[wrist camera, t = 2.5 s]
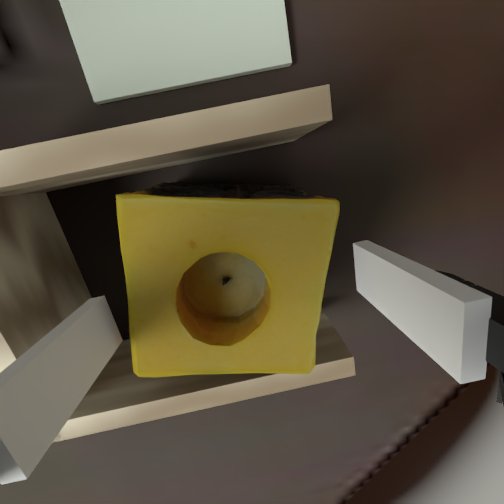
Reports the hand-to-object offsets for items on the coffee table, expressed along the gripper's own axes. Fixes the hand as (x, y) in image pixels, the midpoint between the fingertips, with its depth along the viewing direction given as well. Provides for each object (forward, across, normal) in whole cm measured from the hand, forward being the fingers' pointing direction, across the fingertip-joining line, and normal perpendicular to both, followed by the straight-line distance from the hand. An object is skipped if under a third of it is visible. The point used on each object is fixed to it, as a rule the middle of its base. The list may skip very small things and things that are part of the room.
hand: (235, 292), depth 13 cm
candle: (+9, 0, 0) cm, 9 cm away
